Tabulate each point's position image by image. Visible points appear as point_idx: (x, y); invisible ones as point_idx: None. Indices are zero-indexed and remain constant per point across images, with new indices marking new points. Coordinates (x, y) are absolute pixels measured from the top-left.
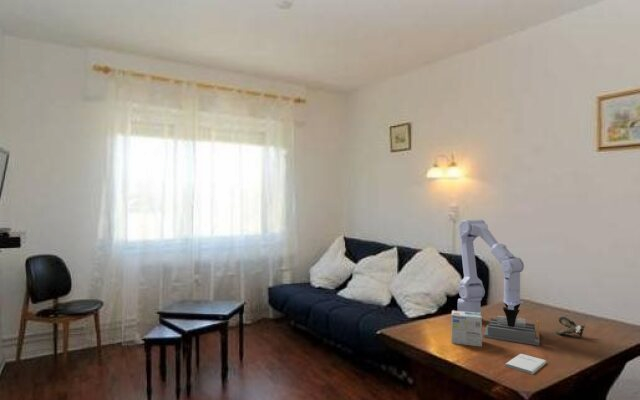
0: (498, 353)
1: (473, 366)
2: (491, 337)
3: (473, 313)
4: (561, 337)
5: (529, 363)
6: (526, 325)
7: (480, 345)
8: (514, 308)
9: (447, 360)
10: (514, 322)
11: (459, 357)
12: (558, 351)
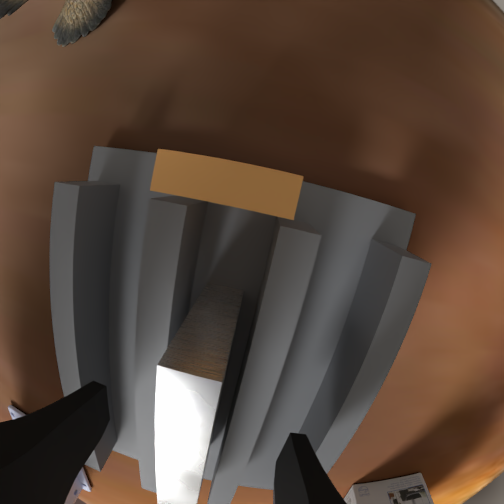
0: (486, 419)
1: None
2: None
3: None
4: (146, 11)
5: None
6: (84, 264)
7: (420, 477)
8: (34, 480)
9: (484, 486)
10: (320, 470)
11: (479, 480)
12: (470, 119)
